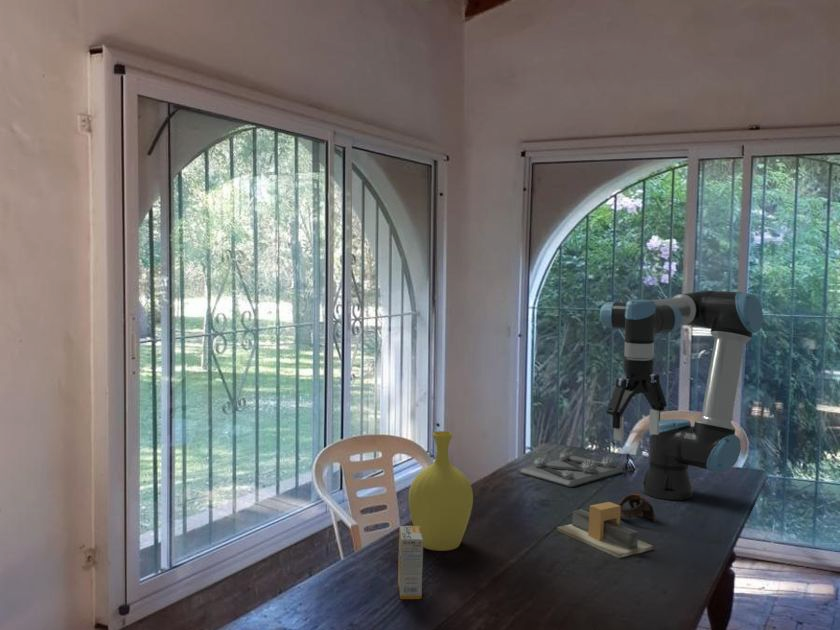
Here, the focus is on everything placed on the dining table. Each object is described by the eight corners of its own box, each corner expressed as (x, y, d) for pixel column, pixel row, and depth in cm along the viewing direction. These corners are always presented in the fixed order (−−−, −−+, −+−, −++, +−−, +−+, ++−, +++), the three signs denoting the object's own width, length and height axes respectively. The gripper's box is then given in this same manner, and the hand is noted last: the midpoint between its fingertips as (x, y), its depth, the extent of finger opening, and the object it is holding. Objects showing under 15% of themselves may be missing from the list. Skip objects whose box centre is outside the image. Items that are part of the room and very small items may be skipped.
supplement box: (396, 583, 177) (398, 525, 176) (418, 583, 177) (420, 525, 176) (399, 599, 168) (400, 538, 167) (422, 599, 169) (423, 538, 168)
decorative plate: (572, 461, 291) (573, 442, 290) (624, 474, 275) (625, 454, 274) (518, 475, 270) (519, 454, 270) (570, 490, 254) (571, 467, 254)
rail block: (589, 523, 221) (590, 505, 220) (652, 549, 202) (653, 530, 202) (557, 530, 214) (557, 512, 214) (618, 558, 196) (619, 538, 195)
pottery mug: (661, 527, 221) (651, 504, 219) (629, 540, 222) (618, 516, 220) (651, 503, 232) (640, 480, 230) (620, 515, 234) (609, 493, 232)
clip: (607, 531, 212) (609, 501, 211) (619, 536, 208) (620, 506, 208) (588, 535, 208) (589, 505, 207) (599, 540, 205) (601, 509, 204)
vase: (478, 537, 207) (482, 430, 205) (461, 559, 192) (465, 443, 190) (419, 529, 212) (422, 424, 210) (398, 549, 197) (401, 436, 195)
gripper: (659, 352, 223) (657, 428, 225) (594, 360, 210) (592, 440, 212) (681, 356, 217) (679, 433, 219) (615, 363, 203) (613, 446, 205)
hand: (636, 437), depth 215 cm, fingers open, 13 cm apart
